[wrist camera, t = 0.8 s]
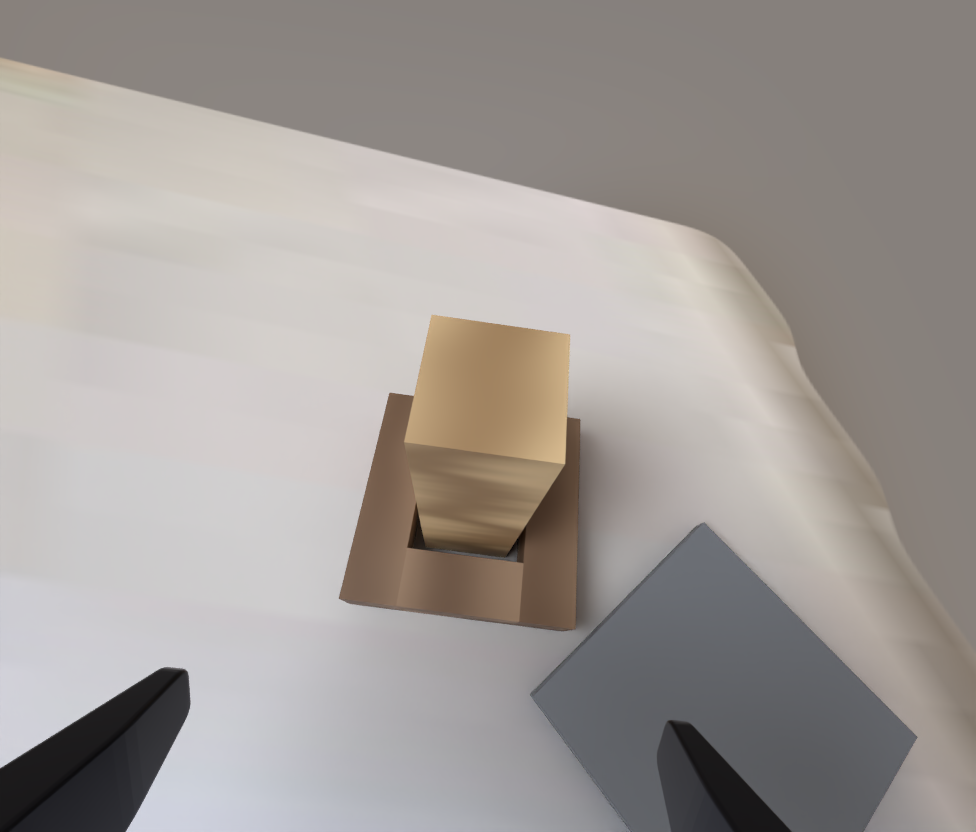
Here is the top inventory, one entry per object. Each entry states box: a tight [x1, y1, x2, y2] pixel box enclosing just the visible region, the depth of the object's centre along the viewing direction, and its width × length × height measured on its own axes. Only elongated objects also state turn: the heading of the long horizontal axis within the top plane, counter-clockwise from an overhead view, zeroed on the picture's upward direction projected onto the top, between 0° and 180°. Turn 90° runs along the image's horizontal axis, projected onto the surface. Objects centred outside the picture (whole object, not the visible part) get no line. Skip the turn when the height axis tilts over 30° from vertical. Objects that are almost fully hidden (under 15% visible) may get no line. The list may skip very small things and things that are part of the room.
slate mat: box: [530, 523, 917, 832], centre depth 20 cm, size 12×12×1 cm
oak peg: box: [404, 315, 570, 558], centre depth 18 cm, size 4×4×13 cm
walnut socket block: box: [339, 393, 580, 631], centre depth 23 cm, size 10×10×2 cm
